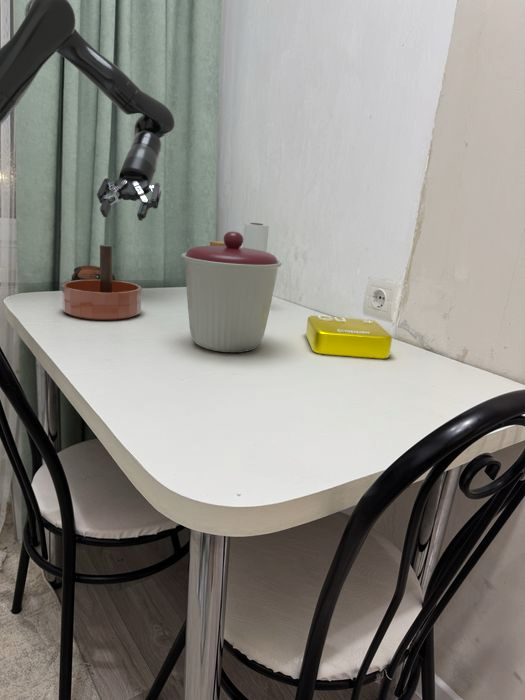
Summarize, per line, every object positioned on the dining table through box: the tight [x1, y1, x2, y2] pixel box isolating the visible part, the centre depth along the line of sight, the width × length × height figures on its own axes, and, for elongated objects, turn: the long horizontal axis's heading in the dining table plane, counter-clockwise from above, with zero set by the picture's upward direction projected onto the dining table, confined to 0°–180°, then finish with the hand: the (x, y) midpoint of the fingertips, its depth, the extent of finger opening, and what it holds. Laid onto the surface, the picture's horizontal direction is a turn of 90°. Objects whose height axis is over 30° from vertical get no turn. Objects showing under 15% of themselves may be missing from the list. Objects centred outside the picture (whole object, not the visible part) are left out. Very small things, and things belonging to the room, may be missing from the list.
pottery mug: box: [70, 265, 116, 281], centre depth 131 cm, size 12×10×8 cm
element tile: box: [305, 314, 393, 360], centre depth 102 cm, size 15×15×5 cm
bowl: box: [61, 280, 142, 321], centre depth 112 cm, size 16×16×6 cm
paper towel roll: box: [242, 222, 270, 252], centre depth 130 cm, size 7×6×21 cm
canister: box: [180, 231, 283, 353], centre depth 93 cm, size 18×18×21 cm
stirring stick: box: [99, 244, 113, 292], centre depth 112 cm, size 5×5×14 cm
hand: (121, 216), depth 117 cm, fingers open, 8 cm apart
